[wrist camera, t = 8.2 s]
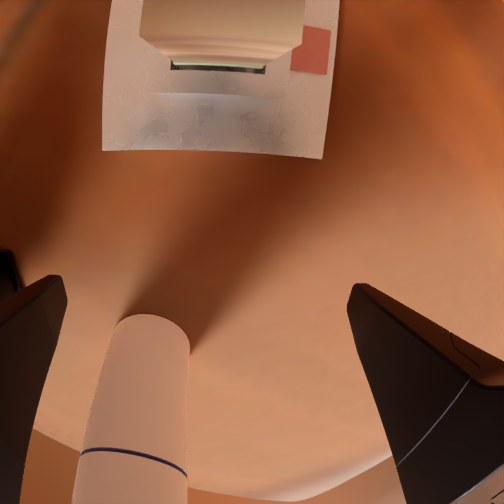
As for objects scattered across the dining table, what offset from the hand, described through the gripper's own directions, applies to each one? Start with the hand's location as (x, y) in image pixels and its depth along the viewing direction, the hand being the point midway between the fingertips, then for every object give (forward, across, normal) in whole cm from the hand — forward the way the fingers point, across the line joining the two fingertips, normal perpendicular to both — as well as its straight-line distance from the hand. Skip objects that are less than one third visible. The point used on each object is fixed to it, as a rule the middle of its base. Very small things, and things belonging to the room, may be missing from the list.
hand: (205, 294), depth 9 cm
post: (+9, 0, -9) cm, 12 cm away
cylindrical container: (+13, +5, +15) cm, 21 cm away
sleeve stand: (+13, 0, -9) cm, 16 cm away
